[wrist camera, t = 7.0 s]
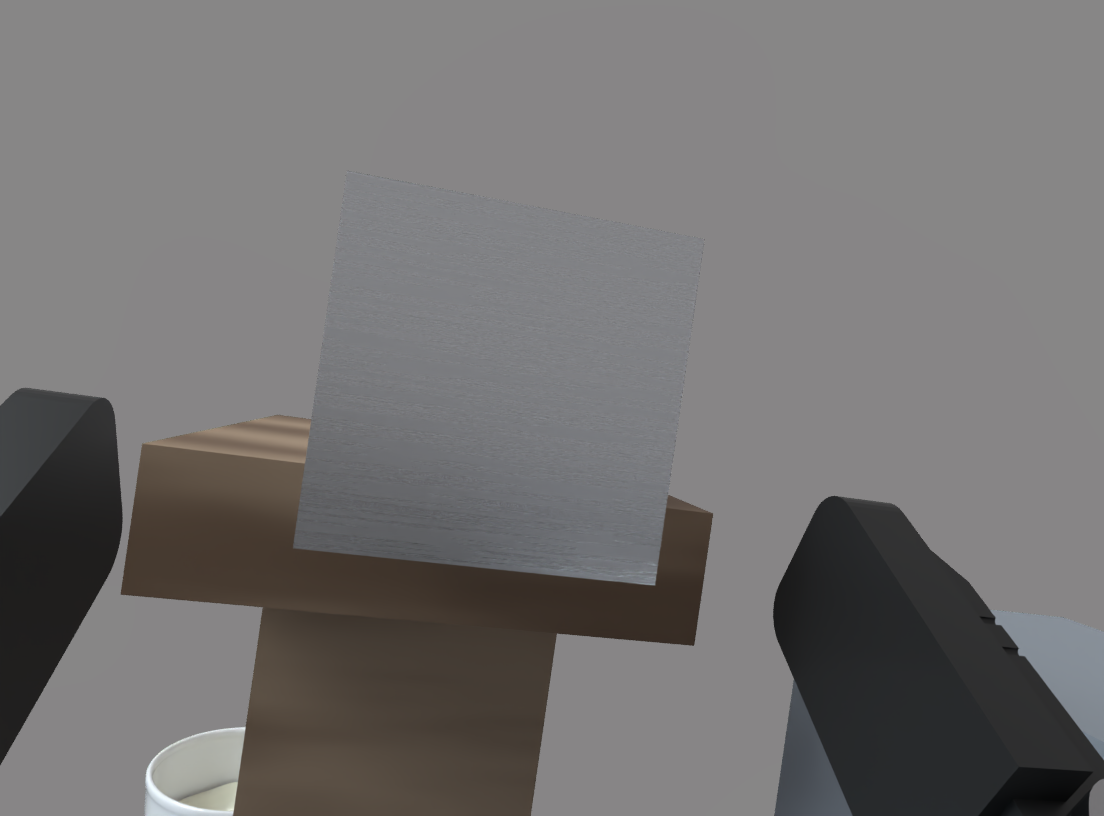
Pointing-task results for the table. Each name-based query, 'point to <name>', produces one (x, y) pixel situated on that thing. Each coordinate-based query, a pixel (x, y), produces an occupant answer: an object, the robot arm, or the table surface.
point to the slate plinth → (1047, 642)
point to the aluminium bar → (497, 385)
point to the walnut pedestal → (379, 635)
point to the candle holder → (196, 775)
